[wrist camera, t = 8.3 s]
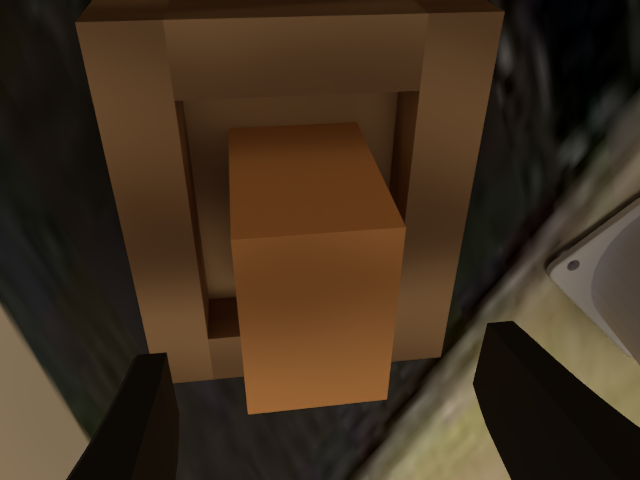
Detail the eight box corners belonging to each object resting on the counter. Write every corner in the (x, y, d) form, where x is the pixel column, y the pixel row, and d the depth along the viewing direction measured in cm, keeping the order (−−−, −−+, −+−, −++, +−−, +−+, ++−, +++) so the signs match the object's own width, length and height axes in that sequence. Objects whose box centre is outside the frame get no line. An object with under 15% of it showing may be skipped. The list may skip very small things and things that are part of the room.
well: (94, -2, 15) (74, 21, 13) (470, -10, 17) (504, 11, 15) (162, 335, 23) (156, 384, 21) (421, 312, 24) (440, 356, 22)
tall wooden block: (228, 128, 18) (230, 240, 13) (356, 122, 18) (406, 226, 13) (242, 280, 21) (247, 414, 16) (349, 272, 22) (386, 398, 17)
